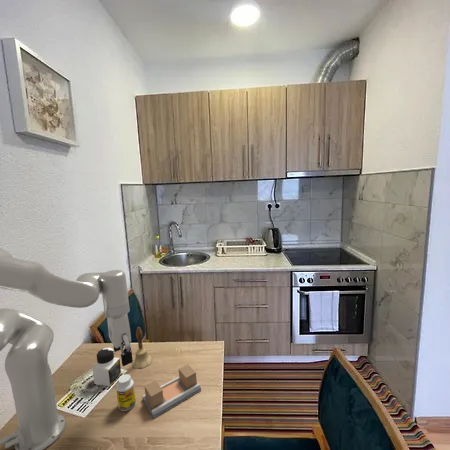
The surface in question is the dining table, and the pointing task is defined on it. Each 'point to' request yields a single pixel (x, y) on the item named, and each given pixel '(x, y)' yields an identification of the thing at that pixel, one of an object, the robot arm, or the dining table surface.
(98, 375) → the medicine bottle
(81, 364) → the dining table surface
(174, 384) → the rail
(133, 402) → the supplement bottle
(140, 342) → the hand bell
